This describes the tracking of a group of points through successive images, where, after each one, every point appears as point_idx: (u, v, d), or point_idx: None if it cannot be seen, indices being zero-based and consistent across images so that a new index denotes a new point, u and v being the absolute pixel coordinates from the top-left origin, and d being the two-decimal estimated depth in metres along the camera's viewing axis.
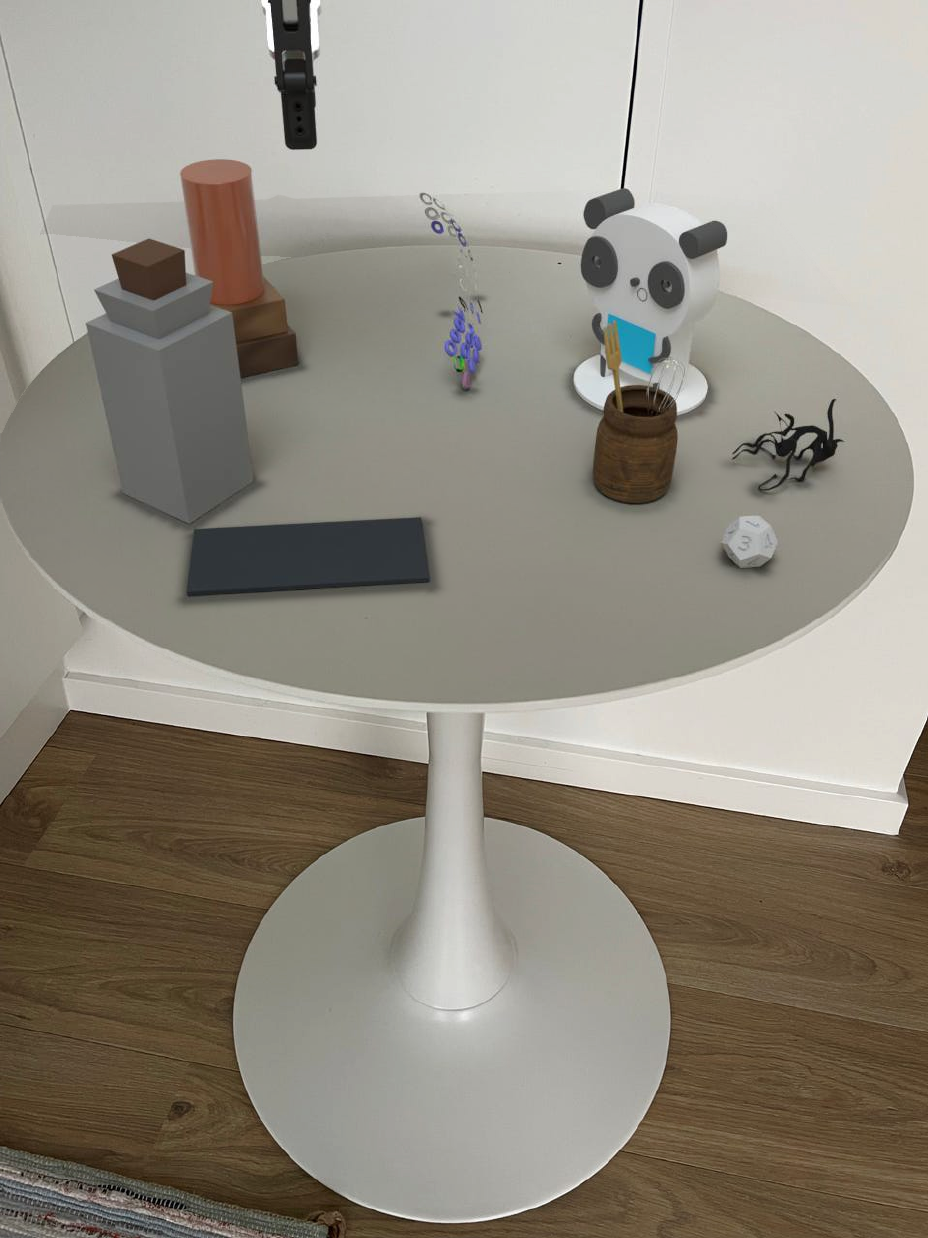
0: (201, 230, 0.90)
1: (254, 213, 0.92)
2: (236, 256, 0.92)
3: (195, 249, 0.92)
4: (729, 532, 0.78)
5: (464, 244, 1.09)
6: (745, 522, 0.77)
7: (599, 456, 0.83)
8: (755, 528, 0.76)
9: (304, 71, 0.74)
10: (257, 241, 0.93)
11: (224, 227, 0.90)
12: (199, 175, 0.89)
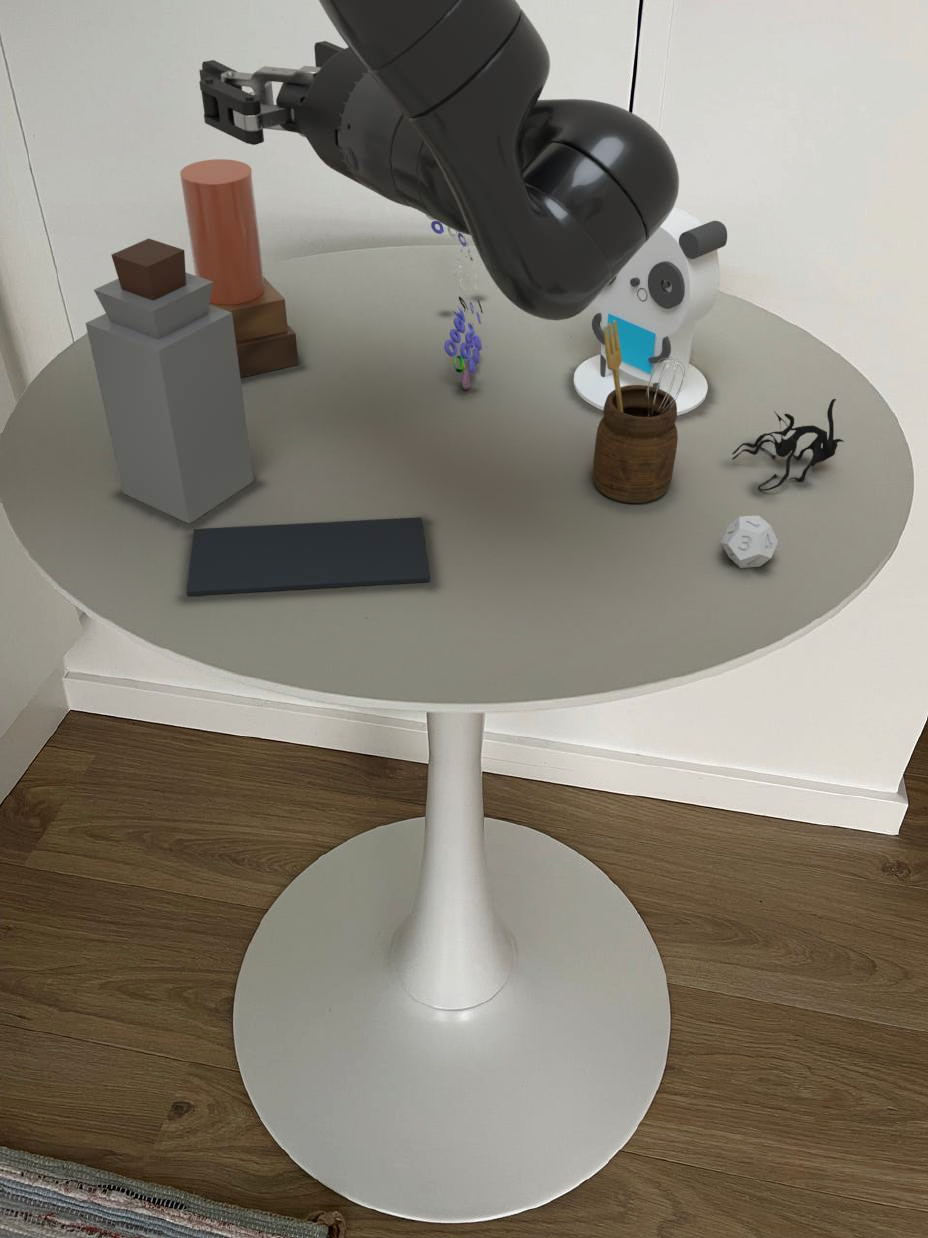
0: (201, 230, 0.90)
1: (254, 213, 0.92)
2: (236, 256, 0.92)
3: (195, 249, 0.92)
4: (729, 532, 0.78)
5: (464, 244, 1.09)
6: (745, 522, 0.77)
7: (599, 456, 0.83)
8: (755, 528, 0.76)
9: (214, 114, 0.71)
10: (257, 241, 0.93)
11: (224, 227, 0.90)
12: (199, 175, 0.89)
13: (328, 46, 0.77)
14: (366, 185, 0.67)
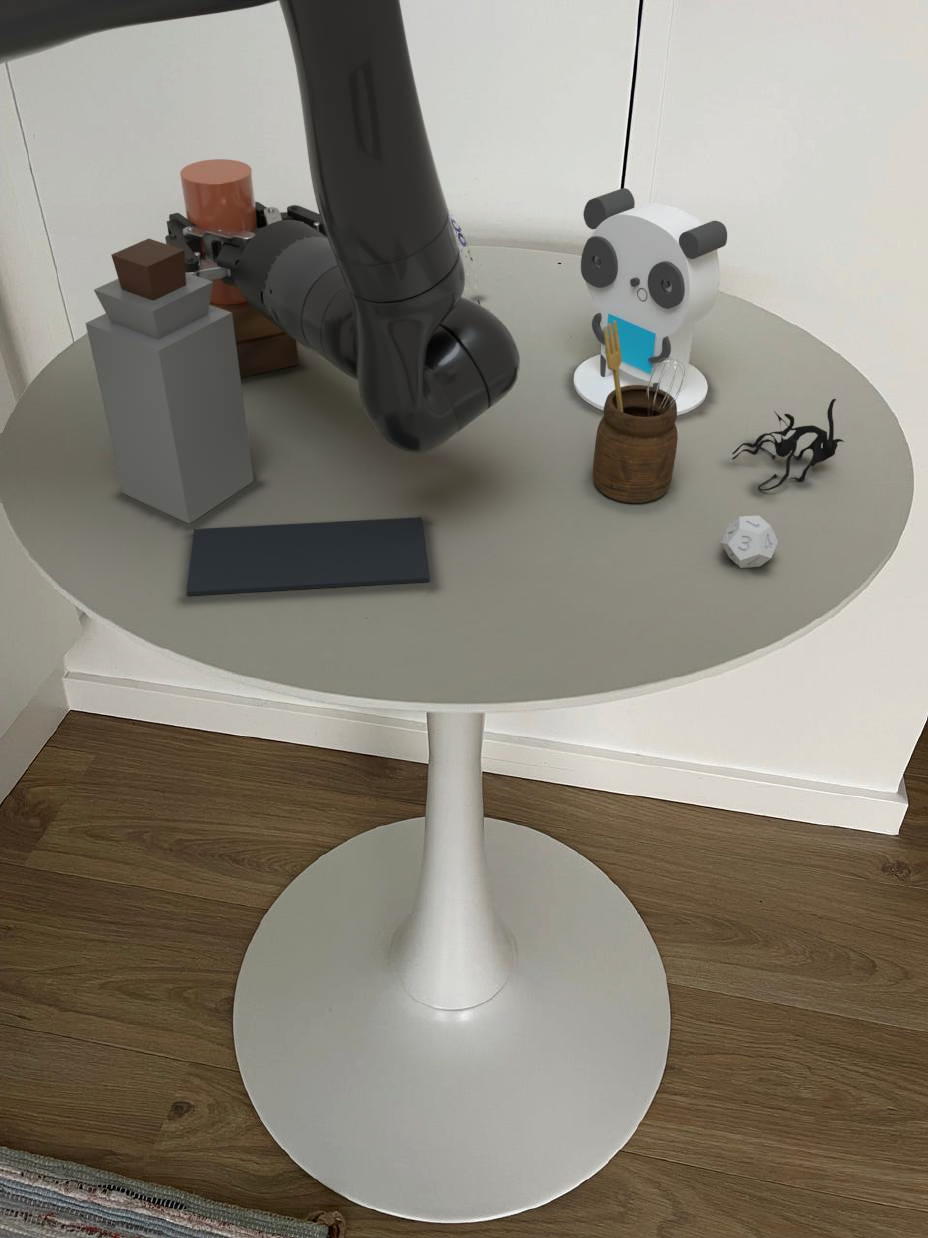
0: None
1: (254, 213, 0.92)
2: None
3: None
4: (729, 532, 0.78)
5: (464, 244, 1.09)
6: (745, 522, 0.77)
7: (599, 456, 0.83)
8: (755, 528, 0.76)
9: None
10: None
11: (224, 227, 0.90)
12: (199, 175, 0.89)
13: None
14: None
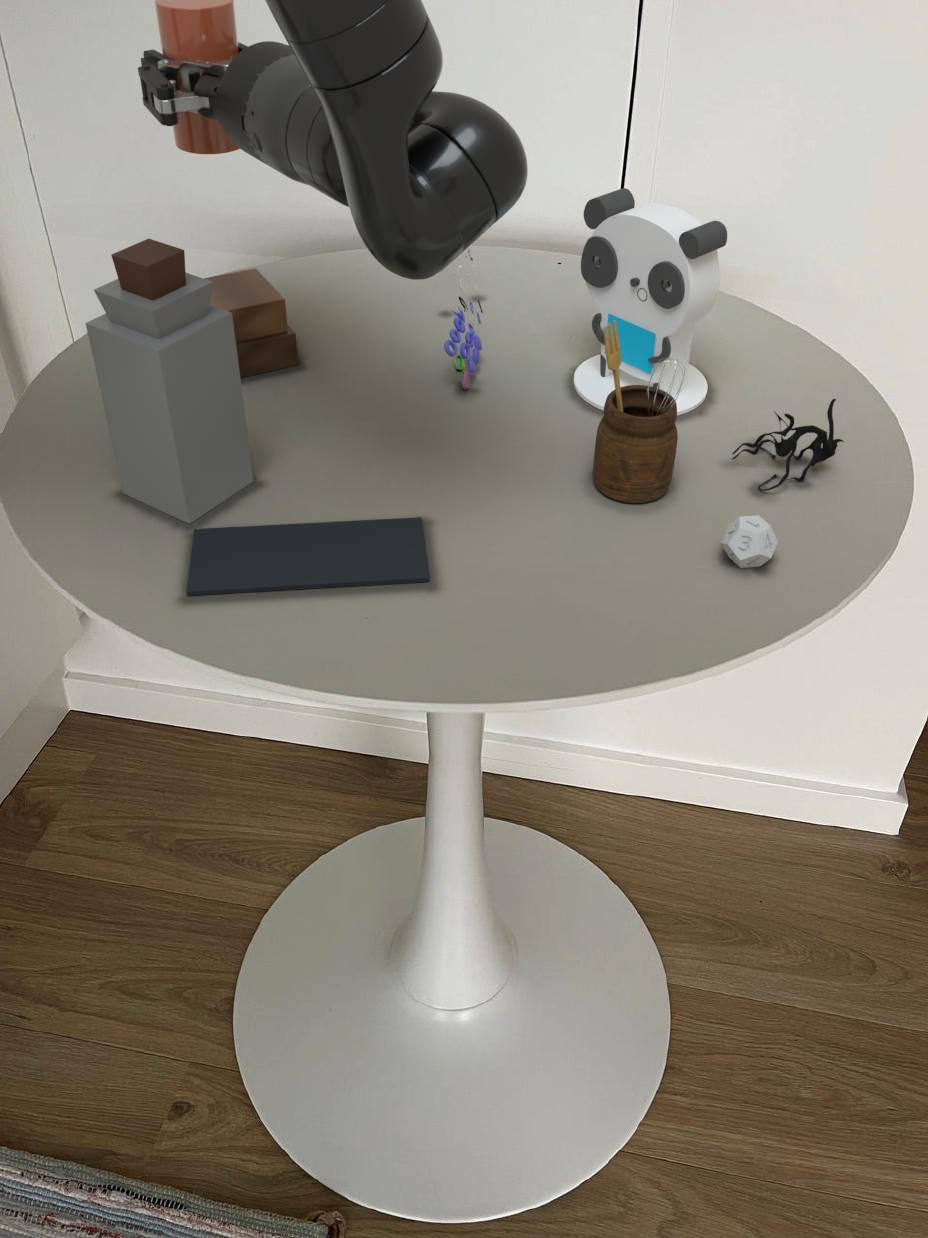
0: None
1: (236, 49, 0.84)
2: None
3: None
4: (729, 532, 0.78)
5: None
6: (745, 522, 0.77)
7: (599, 456, 0.83)
8: (755, 528, 0.76)
9: None
10: None
11: None
12: (175, 2, 0.81)
13: None
14: (270, 165, 0.76)
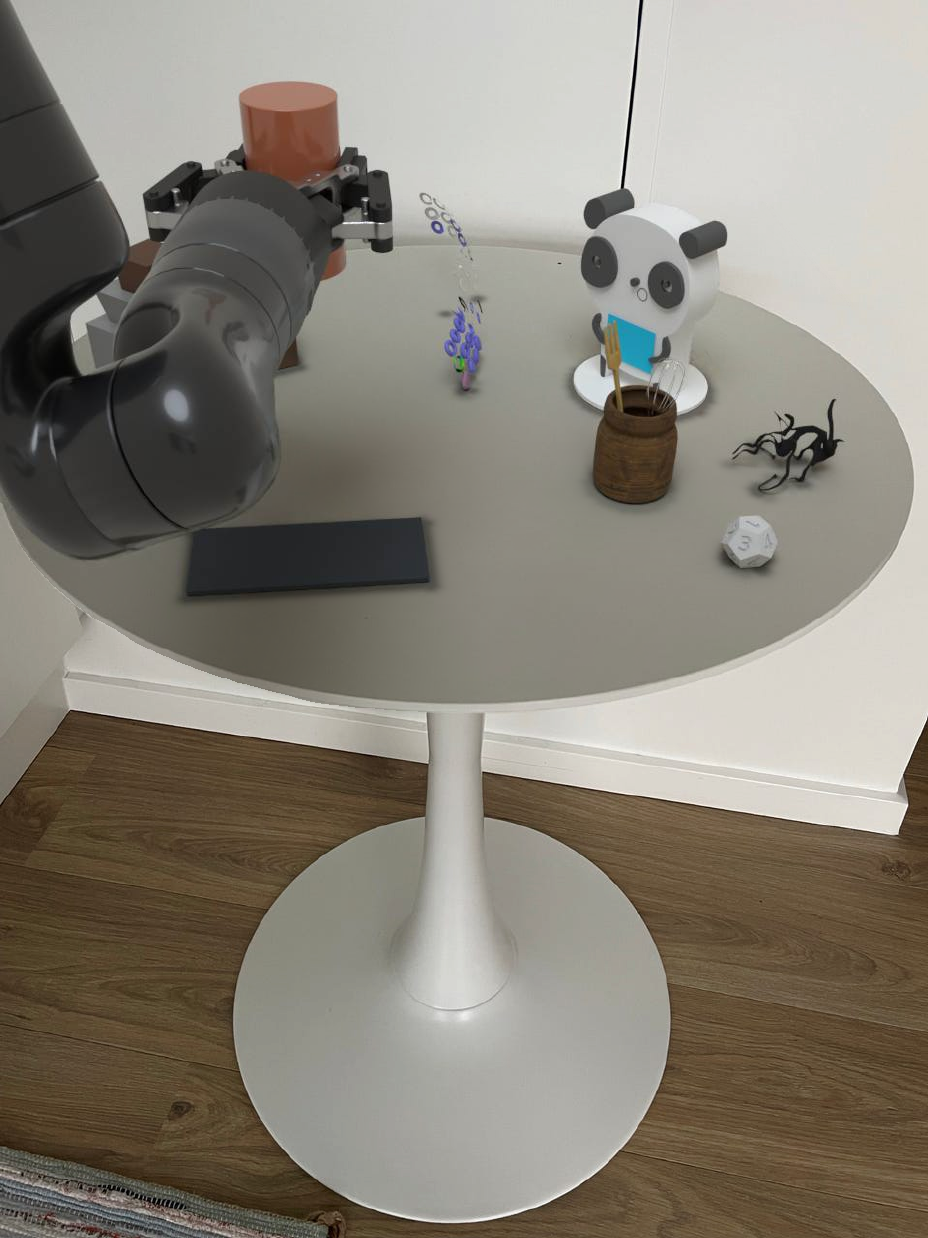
0: (247, 169, 0.66)
1: (320, 166, 0.65)
2: None
3: None
4: (729, 532, 0.78)
5: (464, 244, 1.09)
6: (745, 522, 0.77)
7: (599, 456, 0.83)
8: (755, 528, 0.76)
9: (190, 200, 0.66)
10: None
11: (265, 171, 0.65)
12: (259, 95, 0.64)
13: (343, 154, 0.67)
14: None
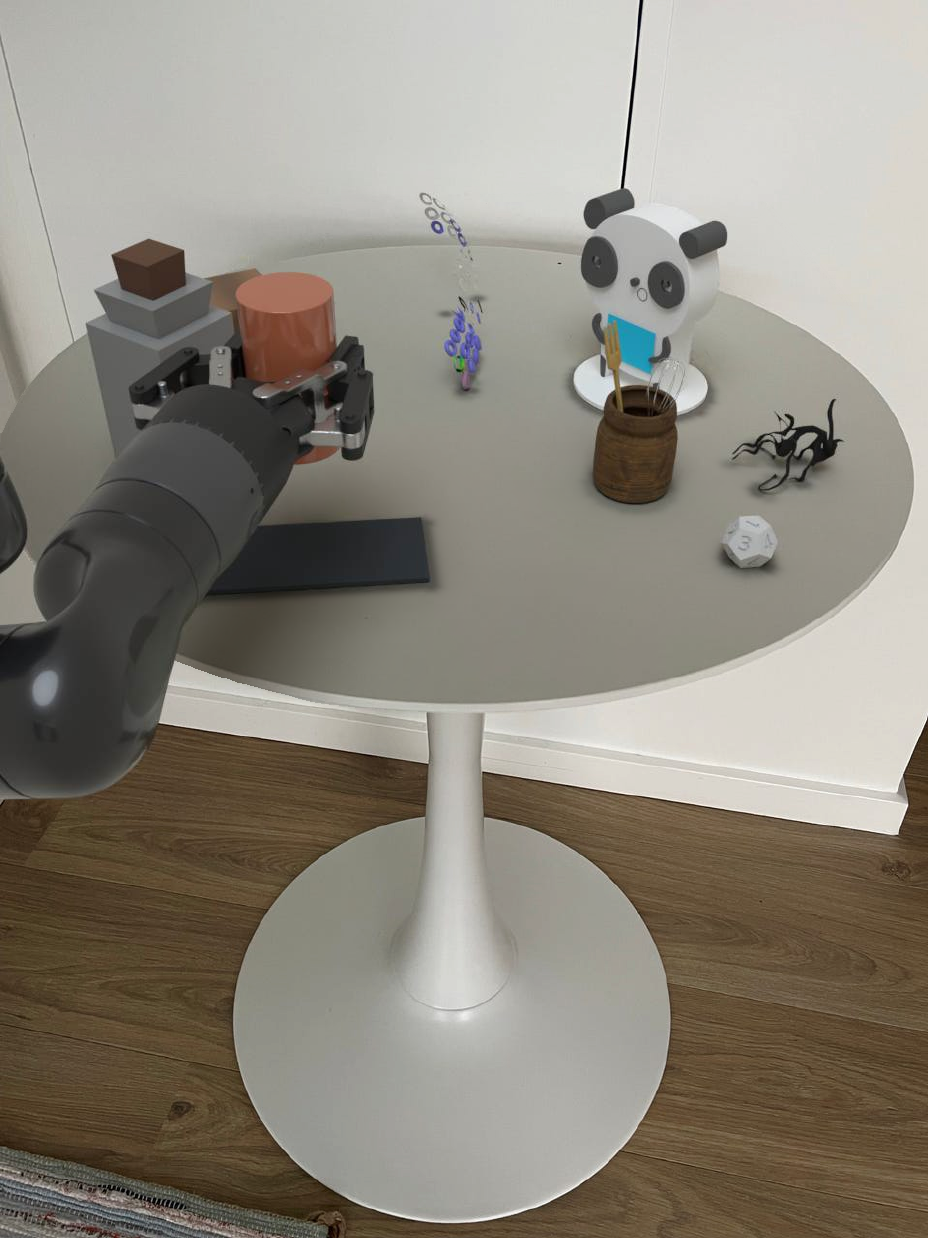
0: (243, 356, 0.67)
1: (309, 361, 0.66)
2: None
3: None
4: (729, 532, 0.78)
5: (464, 244, 1.09)
6: (745, 522, 0.77)
7: (599, 456, 0.83)
8: (755, 528, 0.76)
9: (186, 383, 0.68)
10: None
11: (256, 363, 0.66)
12: (256, 290, 0.66)
13: (339, 346, 0.68)
14: None
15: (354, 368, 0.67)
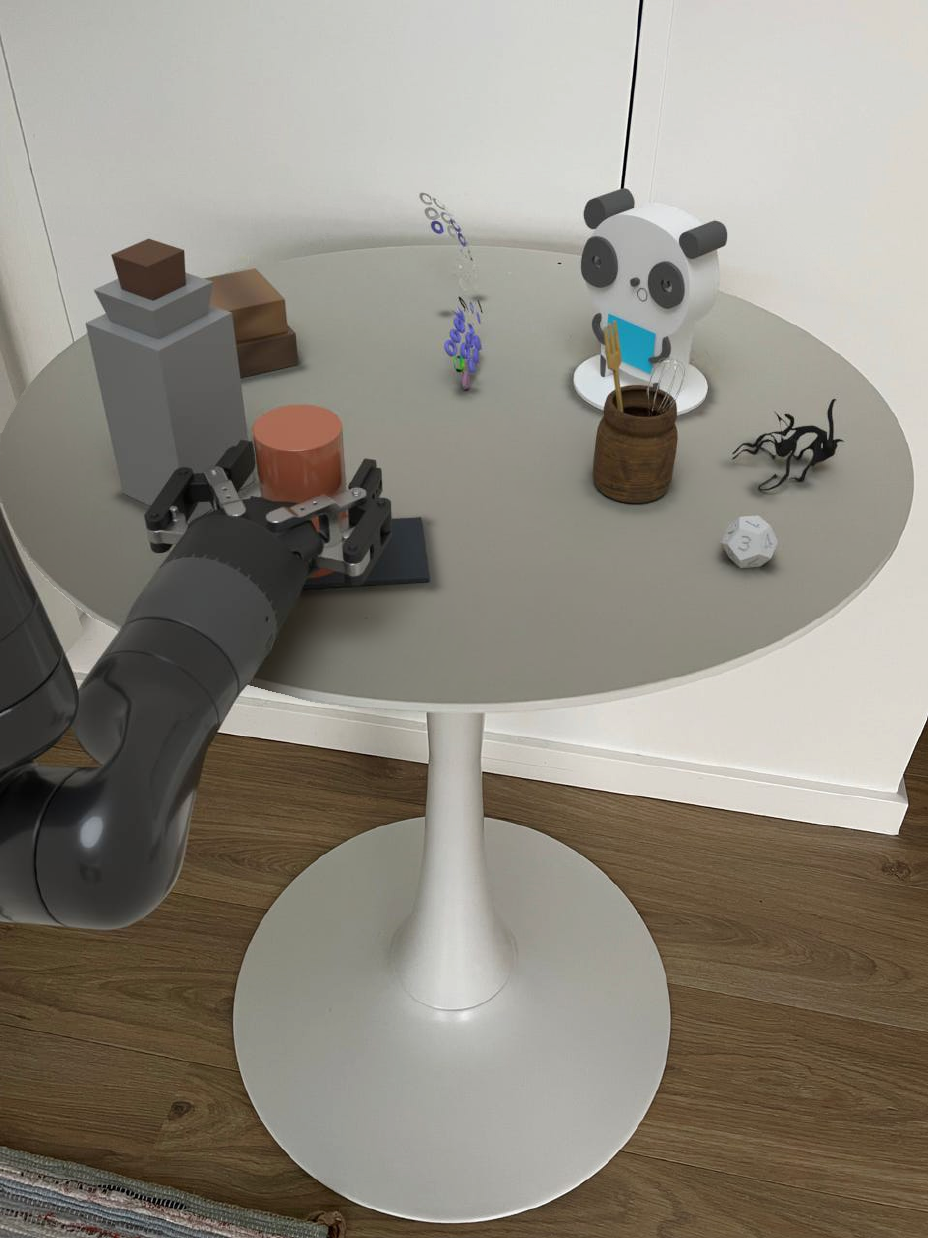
0: None
1: (320, 490, 0.72)
2: None
3: None
4: (729, 532, 0.78)
5: (464, 244, 1.09)
6: (745, 522, 0.77)
7: (599, 456, 0.83)
8: (755, 528, 0.76)
9: None
10: None
11: (271, 492, 0.72)
12: (272, 425, 0.71)
13: (358, 470, 0.72)
14: None
15: (373, 492, 0.72)
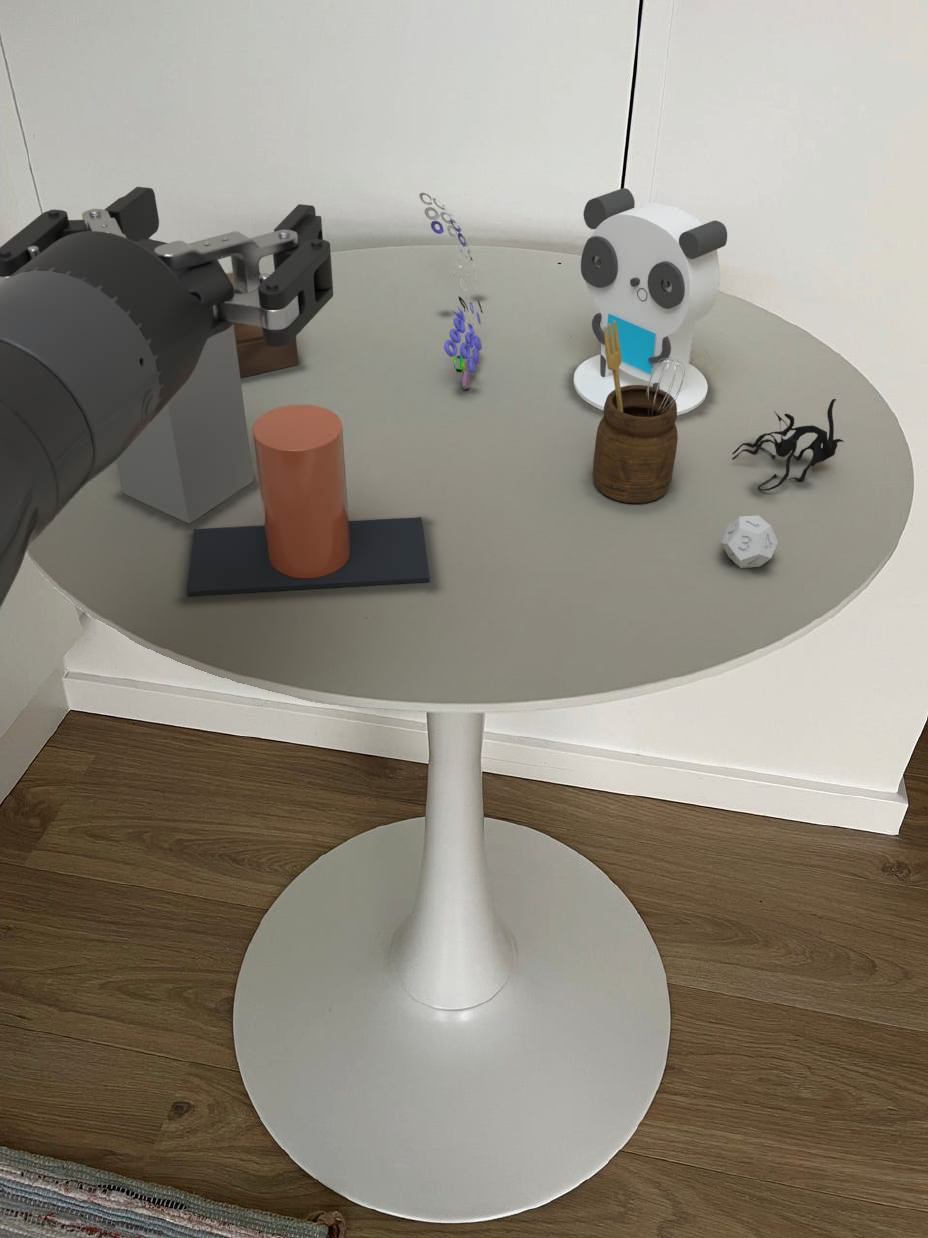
0: None
1: (320, 490, 0.72)
2: (283, 527, 0.73)
3: None
4: (729, 532, 0.78)
5: (464, 244, 1.09)
6: (745, 522, 0.77)
7: (599, 456, 0.83)
8: (755, 528, 0.76)
9: None
10: (322, 520, 0.73)
11: (271, 492, 0.72)
12: (272, 425, 0.71)
13: (290, 214, 0.54)
14: None
15: None
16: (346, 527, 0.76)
